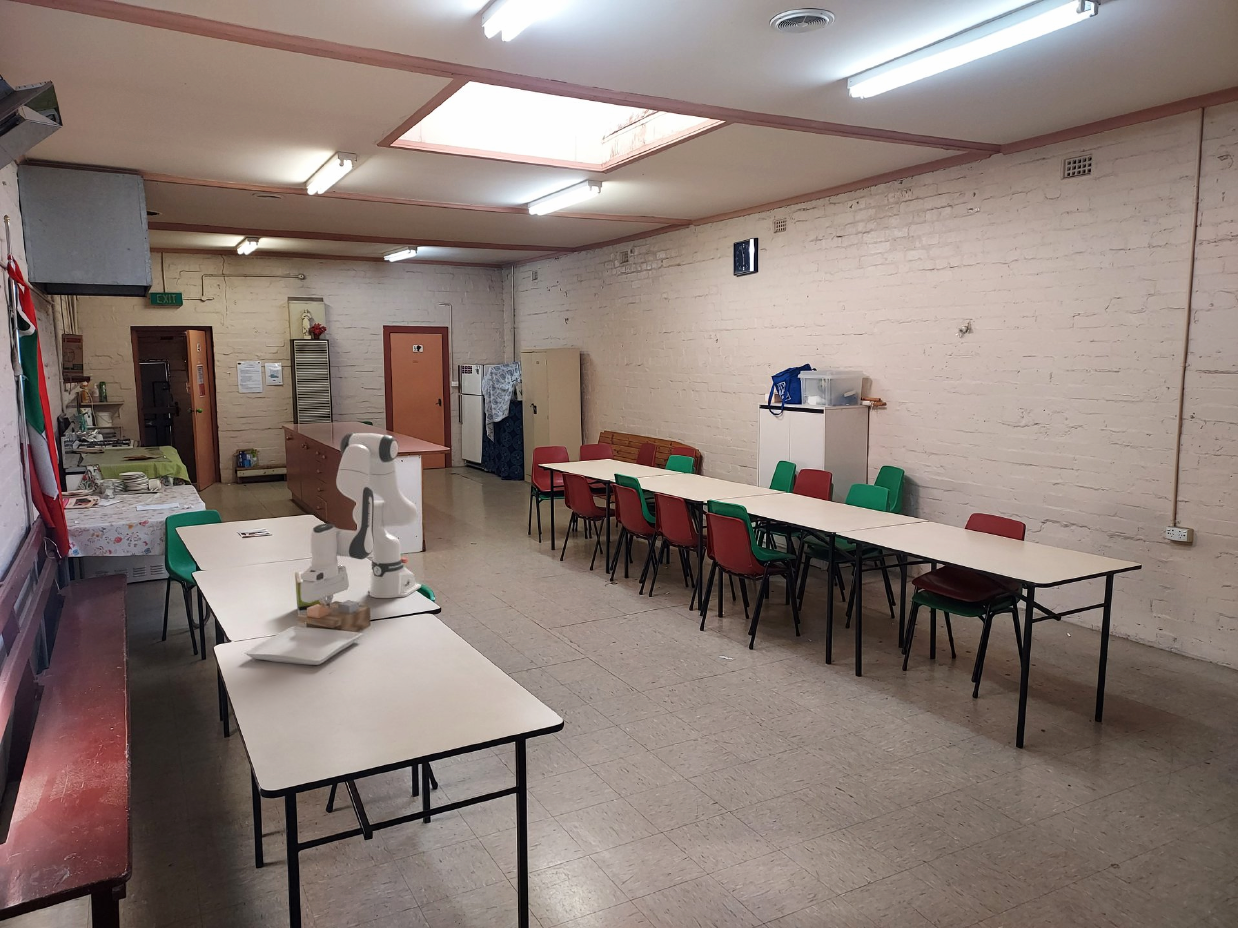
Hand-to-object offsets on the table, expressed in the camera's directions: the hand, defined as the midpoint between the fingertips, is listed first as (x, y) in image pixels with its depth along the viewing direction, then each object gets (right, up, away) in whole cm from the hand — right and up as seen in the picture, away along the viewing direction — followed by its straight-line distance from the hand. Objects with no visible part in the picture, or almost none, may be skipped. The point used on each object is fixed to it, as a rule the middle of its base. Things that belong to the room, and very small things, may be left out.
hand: (326, 608), depth 290 cm
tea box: (-13, -6, +21) cm, 26 cm away
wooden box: (+2, -8, +2) cm, 9 cm away
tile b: (+8, -1, +2) cm, 8 cm away
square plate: (0, -12, -18) cm, 22 cm away
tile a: (-2, -2, -3) cm, 4 cm away
